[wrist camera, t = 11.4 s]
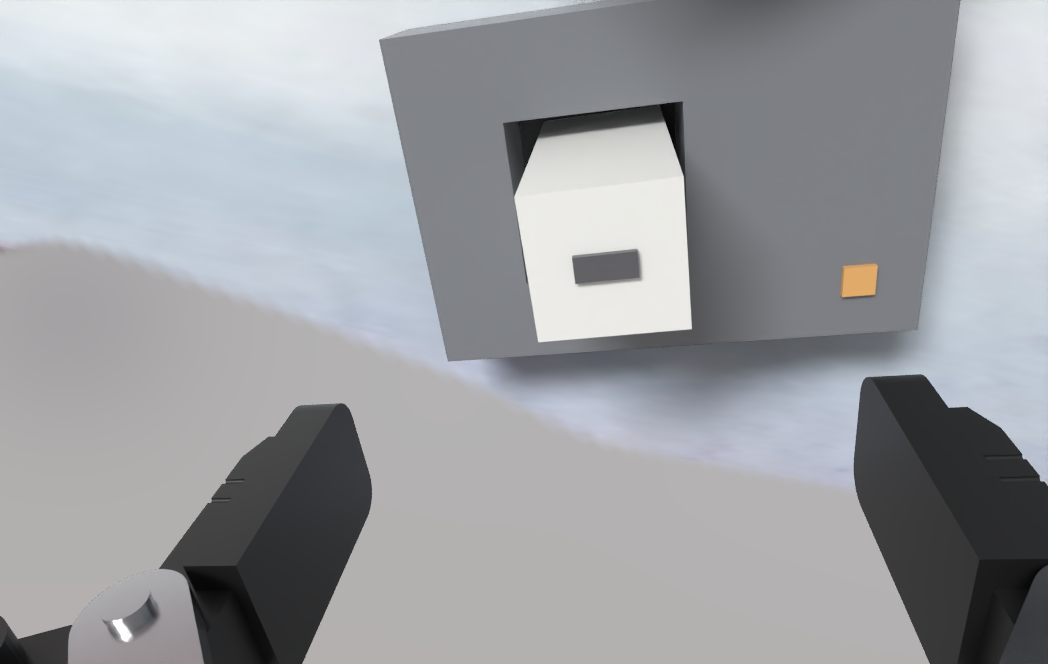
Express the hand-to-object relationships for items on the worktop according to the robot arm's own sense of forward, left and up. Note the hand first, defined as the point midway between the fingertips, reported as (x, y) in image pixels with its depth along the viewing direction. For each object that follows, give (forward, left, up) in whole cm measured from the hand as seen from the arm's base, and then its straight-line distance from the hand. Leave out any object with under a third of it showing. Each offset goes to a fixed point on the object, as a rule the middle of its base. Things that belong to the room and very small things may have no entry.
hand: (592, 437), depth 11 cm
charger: (0, 0, -16) cm, 16 cm away
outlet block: (-2, 0, -16) cm, 16 cm away
